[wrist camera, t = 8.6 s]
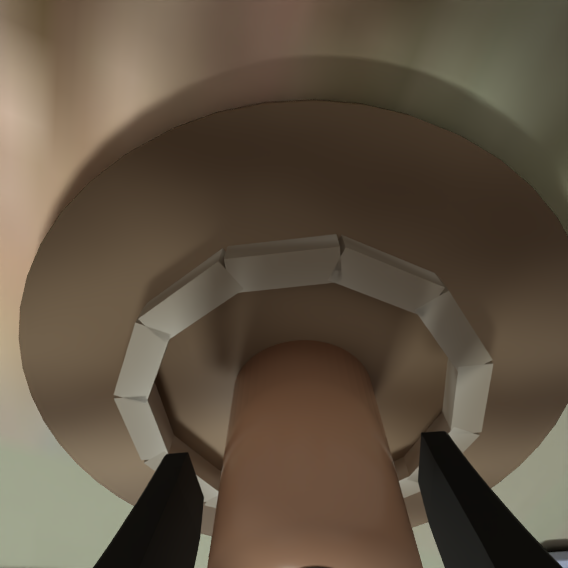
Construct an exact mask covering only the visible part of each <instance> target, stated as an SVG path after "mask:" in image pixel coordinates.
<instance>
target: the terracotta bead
mask: <svg viewBox="0 0 568 568" xmlns="http://www.w3.org/2000/svg"><path fill="white" fill-rule="evenodd" d="M207 568H423V566H422V563H421V559H420V555H419V552H418V548H417V545H416V541H415V538H414V534H413V530H412V527H411V523H410V520H409V516H408V512H407V509H406V505H405V502H404V498H403V494H402V491H401V487H400V484H399V480H398V476H397V473H396V469H395V466H394V462H393V459H392V455H391V451H390V448H389V444H388V441H387V437H386V433H385V430H384V426H383V423H382V419H381V415H380V412H379V408H378V405H377V401H376V398H375V394H374V390H373V387H372V383H371V380H370V376H369V374H368V372H367V370H366V369H365V367H364V366H363V364H362V363H361V362H360V361H359V360H358V359H357V358H356V357H355V356H353V355H352V354H351V353H349V352H348V351H346V350H344V349H342V348H340V347H338V346H335V345H332V344H329V343H325V342H320V341H312V340H296V341H289V342H284V343H280V344H276V345H274V346H271V347H269V348H266V349H265V350H263V351H261V352H259V353H258V354H256V355H255V356H253V357H252V358H251V359H250V360H249V361H248V362H247V363H246V364H245V365H244V366H243V367H242V369H241V370H240V372H239V374H238V376H237V378H236V381H235V385H234V390H233V397H232V404H231V410H230V417H229V424H228V431H227V438H226V444H225V451H224V458H223V465H222V472H221V478H220V485H219V492H218V499H217V506H216V512H215V519H214V526H213V533H212V540H211V546H210V553H209V560H208V567H207Z"/></svg>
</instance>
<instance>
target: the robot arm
mask: <svg viewBox="0 0 568 568" xmlns="http://www.w3.org/2000/svg"><path fill="white" fill-rule="evenodd" d="M418 484H419V488H420V492H421V496H422V500H423V504H424V507H425V511H426V515H427V518H428V522H429V525H430V528H431V531H432V533H433V536H434V539H435V542H436V544H437V547H438V550H439V553H440V555H441V558H442V561H443V563H444V566H445V568H568V551H562V552H547V551H546V550H545V549H544V548H543V546H542V545H541V544H540V543H539V542H538V541H537V540H536V539H535V538H534V537H533V536H532V535H531V534H530V533H529V532H528V530H527V529H526V528H525V527H524V526H523V525H522V524H521V523H520V522H519V521H518V519H517V518H516V517H515V516H514V515H513V514H512V513H511V512H510V510H509V509H508V508H507V507H506V506H505V505H504V503H503V502H502V501H501V500H500V499H499V498H498V496H497V495H496V494H495V493H494V492H493V491H492V489H491V488H490V487H489V486H488V485H487V483H486V482H485V481H484V480H483V479H482V477H481V476H480V475H479V474H478V472H477V471H476V470H475V469H474V467H473V466H472V465H471V464H470V462H469V461H468V460H467V458H466V457H465V456H464V455H463V453H462V452H461V451H460V449H459V448H458V447H457V445H456V444H455V443H454V441H453V440H452V438H451V437H450V436H449V434H448V433H447V432H445V431H436V432H424V433H421V442H420V456H419V471H418ZM203 504H204V496H203V493H202V490H201V487H200V484H199V481H198V479H197V476H196V473H195V470H194V467H193V464H192V462H191V459H190V456H189V453H188V452H183V453H171V454H166V455H165V456H164V457H163V459H162V461H161V463H160V464H159V466H158V468H157V469H156V471H155V473H154V475H153V476H152V478H151V480H150V481H149V483H148V485H147V486H146V488H145V490H144V491H143V493H142V495H141V496H140V498H139V499H138V501H137V503H136V504H135V506H134V507H133V509H132V511H131V512H130V514H129V515H128V517H127V518H126V520H125V521H124V523H123V525H122V526H121V528H120V529H119V531H118V532H117V534H116V535H115V537H114V538H113V540H112V541H111V543H110V544H109V546H108V547H107V549H106V550H105V551H104V553H103V554H102V556H101V557H100V558H99V560H98V561H97V563H96V564H95V566H94V567H93V568H194V565H195V561H196V556H197V551H198V546H199V541H200V534H201V525H202V515H203Z"/></svg>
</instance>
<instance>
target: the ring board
mask: <svg viewBox="0 0 568 568" xmlns="http://www.w3.org/2000/svg"><path fill="white" fill-rule="evenodd" d="M296 340H312V341H320V342H325V343H329V344H332V345H335V346H338V347H340V348H342V349H344V350H346V351H348V352H349V353H351V354H352V355H353V356H355V357H356V358H357V359H358V360H359V361H360V362H361V363H362V364H363V366H364V367H365V369H366V370H367V372H368V374H369V376H370V380H371V383H372V387H373V390H374V394H375V398H376V401H377V405H378V408H379V412H380V415H381V419H382V423H383V426H384V430H385V433H386V437H387V441H388V444H389V448H390V451H391V455H392V459H393V462H394V466H395V469H396V473H397V476H398V480H399V484H400V487H401V491H402V494H403V498H404V502H405V505H406V509H407V512H408V516H409V520H410V523H411V527H415V526H418V525H421V524H424V523H427V522H428V518H427V515H426V511H425V507H424V504H423V500H422V496H421V492H420V488H419V484H418V471H419V456H420V442H421V433H424V432H436V431H445V432H447V433H448V434H449V436H450V437H451V438H452V440H453V441H454V443H455V444H456V445H457V447H458V448H459V449H460V451H461V452H462V453H463V455H464V456H465V457H466V458H467V460H468V461H469V462H470V464H471V465H472V466H473V467H474V469H475V470H476V471H477V472H478V474H479V475H480V476H481V477H482V479H483V480H484V481H485V482H486V483H487V485H488V486H489V487H490V488H492V487H493V486H495V485H496V484H498V483H499V482H500V481H502V480H503V479H504V478H505V477H506V476H508V475H509V474H510V473H511V472H512V471H514V470H515V469H516V468H517V467H519V466H520V465H521V464H522V463H523V462H524V461H525V460H526V458H527V457H528V456H529V455H530V454H531V453H532V452H533V451H534V450H535V449H536V448H537V447H538V446H539V445H540V444H541V442H542V441H543V440H544V438H545V437H546V436H547V435H548V433H549V432H550V431H551V429H552V428H553V427H554V425H555V424H556V423H557V421H558V419H559V417H560V416H561V414H562V412H563V411H564V409H565V407H566V405H567V404H568V236H567V234H566V232H565V231H564V229H563V227H562V225H561V223H560V222H559V220H558V218H557V217H556V215H555V214H554V213H553V212H552V210H551V209H550V208H549V207H548V206H547V204H546V203H545V202H544V201H543V199H542V198H541V197H540V196H539V194H538V193H537V192H536V191H535V190H534V188H533V187H532V186H531V185H529V184H528V183H527V182H526V181H525V180H524V179H522V178H521V177H520V176H519V175H518V174H517V173H515V172H514V171H513V170H512V169H511V168H510V167H508V166H507V165H506V164H505V163H504V162H503V161H501V160H500V159H498V158H497V157H495V156H493V155H492V154H490V153H488V152H487V151H485V150H483V149H482V148H480V147H478V146H477V145H475V144H473V143H472V142H470V141H468V140H467V139H465V138H463V137H462V136H459V135H457V134H455V133H452V132H450V131H448V130H445V129H443V128H440V127H438V126H435V125H433V124H430V123H428V122H425V121H423V120H420V119H418V118H415V117H413V116H410V115H408V114H404V113H400V112H395V111H391V110H387V109H383V108H378V107H374V106H370V105H366V104H361V103H349V102H338V101H326V100H314V99H313V100H295V101H278V102H264V103H259V104H254V105H249V106H244V107H240V108H235V109H230V110H225V111H220V112H216V113H214V114H211V115H208V116H205V117H203V118H200V119H197V120H194V121H192V122H189V123H186V124H183V125H181V126H178V127H175V128H173V129H171V130H169V131H167V132H166V133H164V134H162V135H160V136H158V137H156V138H155V139H153V140H151V141H149V142H147V143H145V144H143V145H142V146H140V147H138V148H136V149H134V150H133V151H131V152H129V153H128V154H126V155H124V156H123V157H122V158H121V159H119V160H118V161H117V162H115V163H114V164H113V165H111V166H110V167H109V168H107V169H106V170H105V171H104V172H102V173H101V174H100V175H98V176H97V177H96V178H94V179H93V180H92V181H91V182H89V183H88V184H87V186H86V187H85V188H84V189H83V190H82V191H81V192H80V193H79V194H78V195H77V196H76V197H75V198H74V199H73V200H72V202H71V203H70V204H69V205H68V206H67V207H66V208H65V209H64V210H63V211H62V212H61V214H60V215H59V217H58V218H57V220H56V221H55V223H54V224H53V226H52V228H51V229H50V231H49V232H48V234H47V235H46V237H45V238H44V240H43V241H42V243H41V245H40V247H39V249H38V252H37V254H36V256H35V259H34V261H33V263H32V266H31V268H30V271H29V273H28V275H27V279H26V283H25V288H24V292H23V297H22V301H21V306H20V321H19V344H20V351H21V359H22V366H23V370H24V374H25V377H26V380H27V383H28V386H29V390H30V393H31V396H32V398H33V400H34V402H35V404H36V406H37V408H38V410H39V412H40V414H41V416H42V418H43V420H44V422H45V423H46V425H47V426H48V428H49V429H50V431H51V432H52V434H53V435H54V437H55V438H56V440H57V441H58V443H59V444H60V445H61V446H62V447H63V448H64V450H65V451H66V452H67V453H68V454H69V455H70V456H71V457H72V459H73V460H74V461H75V462H76V463H77V464H78V465H79V466H80V467H81V468H82V469H84V470H85V471H86V472H87V473H88V474H89V475H90V476H91V477H92V478H94V479H95V480H96V481H97V482H98V483H100V484H101V485H103V486H104V487H105V488H107V489H108V490H109V491H111V492H112V493H114V494H115V495H116V496H118V497H119V498H121V499H123V500H125V501H126V502H128V503H130V504H131V505H133V506H135V504H136V503H137V501H138V499H139V498H140V496H141V495H142V493H143V491H144V490H145V488H146V486H147V485H148V483H149V481H150V480H151V478H152V476H153V475H154V473H155V471H156V469H157V468H158V466H159V464H160V463H161V461H162V459H163V457H164V456H165V455H166V454H171V453H183V452H188V453H189V456H190V459H191V462H192V464H193V467H194V470H195V473H196V476H197V479H198V481H199V484H200V487H201V490H202V493H203V496H204V504H203V515H202V525H201V534H205V535H209V536H212V533H213V526H214V519H215V512H216V506H217V499H218V492H219V485H220V478H221V472H222V465H223V458H224V451H225V444H226V438H227V431H228V424H229V417H230V410H231V404H232V397H233V390H234V385H235V381H236V378H237V376H238V374H239V372H240V370H241V369H242V367H243V366H244V365H245V364H246V363H247V362H248V361H249V360H250V359H251V358H252V357H253V356H255V355H256V354H258V353H259V352H261V351H263V350H265V349H266V348H269V347H271V346H274V345H276V344H280V343H284V342H289V341H296Z"/></svg>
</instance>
